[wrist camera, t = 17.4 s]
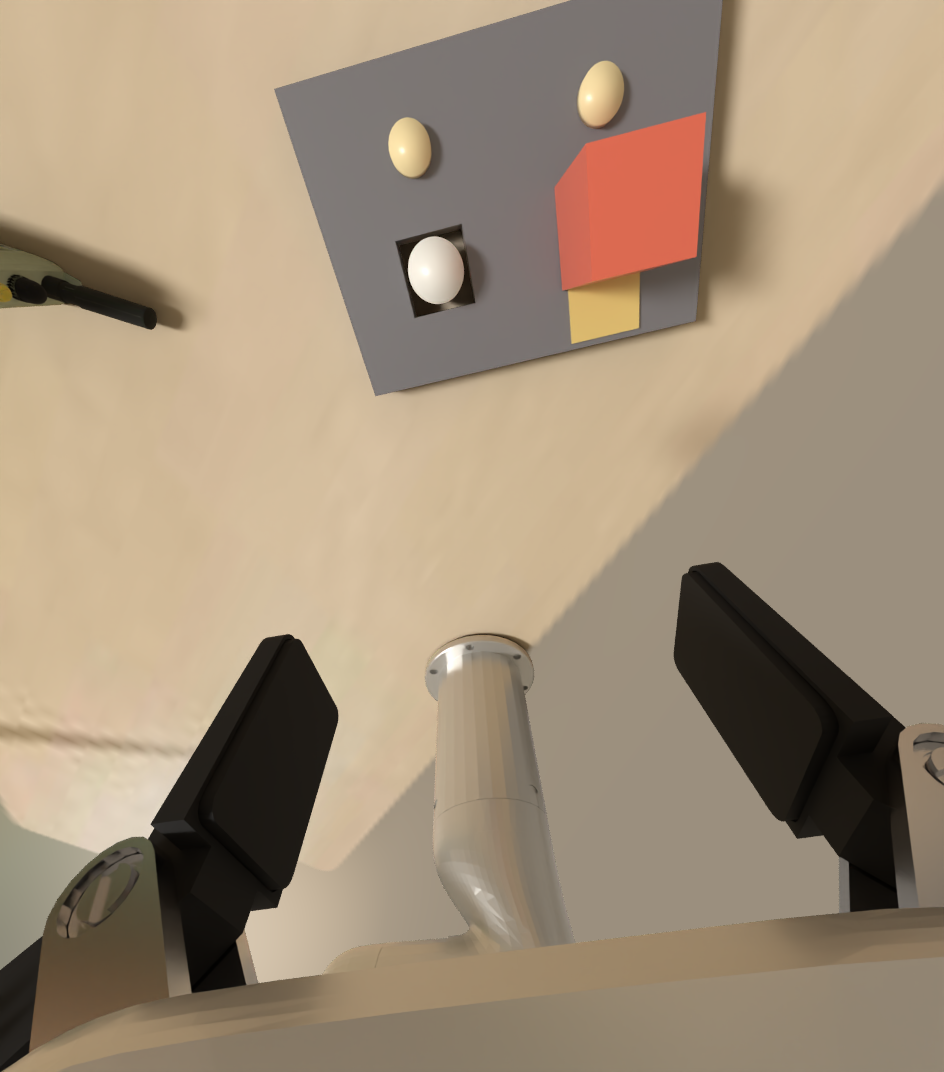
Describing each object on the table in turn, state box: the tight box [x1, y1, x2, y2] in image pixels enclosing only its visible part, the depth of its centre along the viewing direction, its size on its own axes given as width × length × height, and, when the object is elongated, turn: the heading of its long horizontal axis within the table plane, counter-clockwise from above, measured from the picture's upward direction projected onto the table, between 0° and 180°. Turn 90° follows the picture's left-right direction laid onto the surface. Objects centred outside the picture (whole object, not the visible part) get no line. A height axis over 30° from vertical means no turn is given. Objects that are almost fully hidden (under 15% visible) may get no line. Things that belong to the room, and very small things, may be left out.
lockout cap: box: [554, 112, 706, 291], centre depth 20 cm, size 5×5×6 cm
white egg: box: [408, 237, 464, 304], centre depth 23 cm, size 3×3×2 cm
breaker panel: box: [274, 0, 723, 396], centre depth 23 cm, size 15×22×3 cm
